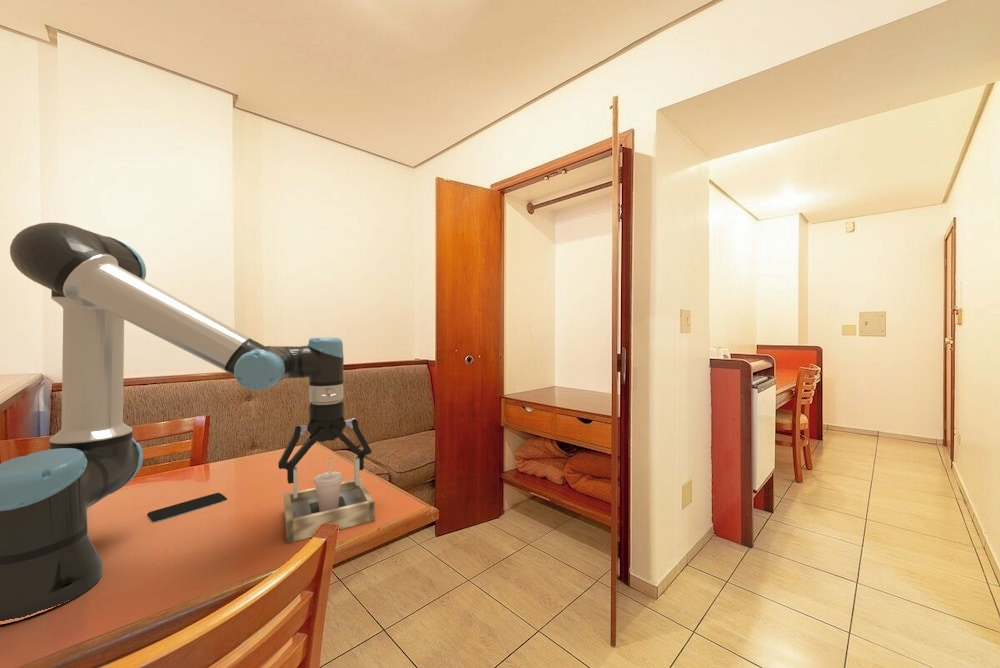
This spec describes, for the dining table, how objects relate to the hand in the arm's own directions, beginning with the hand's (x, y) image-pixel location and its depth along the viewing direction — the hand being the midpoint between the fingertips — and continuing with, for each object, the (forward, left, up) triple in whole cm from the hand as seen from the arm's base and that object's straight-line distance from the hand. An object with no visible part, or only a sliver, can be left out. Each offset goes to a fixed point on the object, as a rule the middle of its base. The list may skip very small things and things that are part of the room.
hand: (327, 489), depth 92 cm
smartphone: (-29, +24, -7) cm, 39 cm away
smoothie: (0, 0, -7) cm, 7 cm away
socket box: (0, 0, -6) cm, 7 cm away
